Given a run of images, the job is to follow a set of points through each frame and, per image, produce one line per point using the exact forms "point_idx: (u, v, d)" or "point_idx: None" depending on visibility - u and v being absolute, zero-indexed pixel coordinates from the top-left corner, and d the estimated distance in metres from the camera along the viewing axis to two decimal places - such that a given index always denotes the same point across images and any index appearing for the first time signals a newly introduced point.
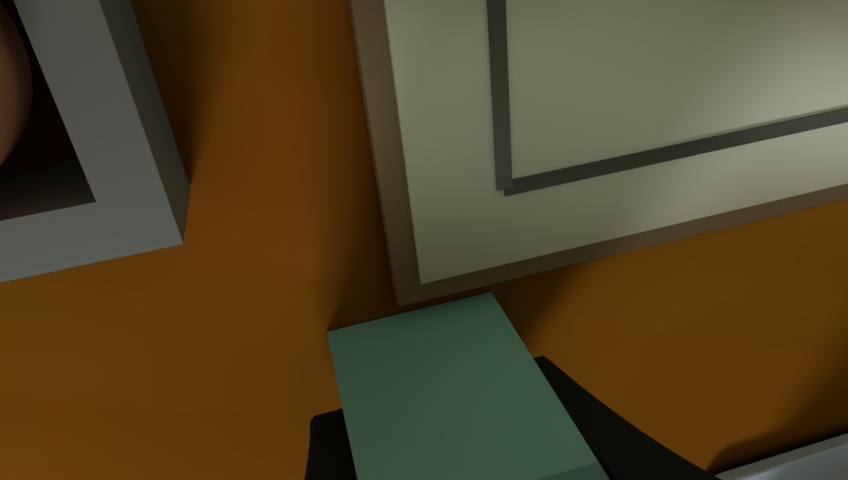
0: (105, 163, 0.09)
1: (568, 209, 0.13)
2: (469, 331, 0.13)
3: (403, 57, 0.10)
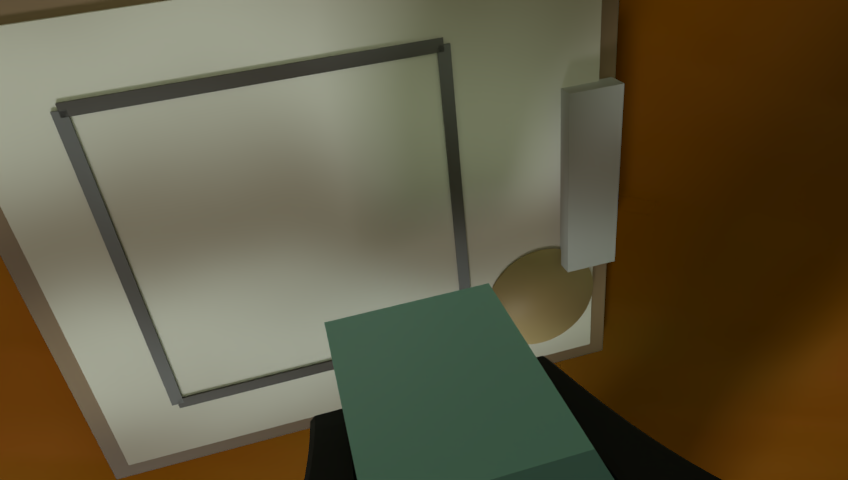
0: None
1: (236, 410, 0.17)
2: (467, 322, 0.13)
3: (76, 333, 0.15)
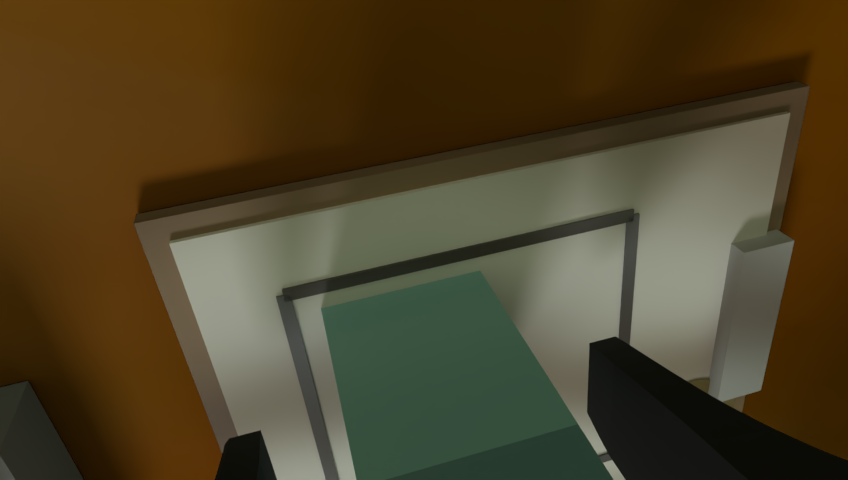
0: None
1: None
2: (458, 307, 0.13)
3: None
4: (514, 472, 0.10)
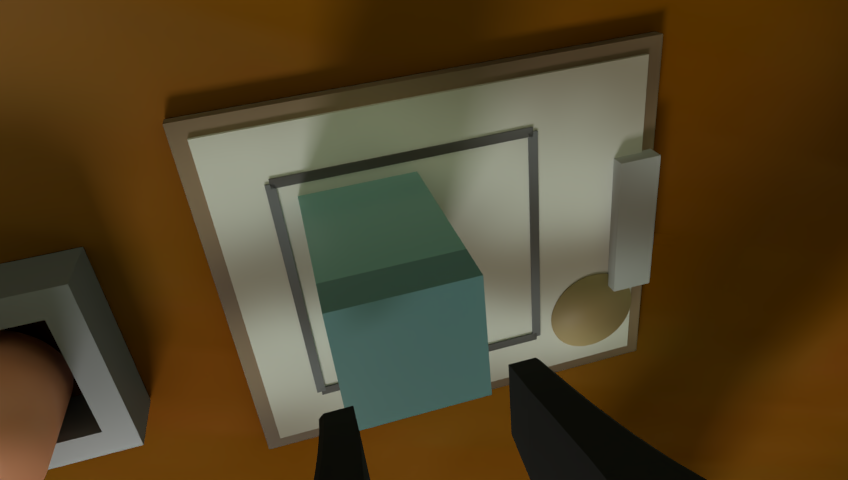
0: (106, 417, 0.19)
1: None
2: (397, 192, 0.18)
3: (257, 339, 0.21)
4: (419, 273, 0.14)
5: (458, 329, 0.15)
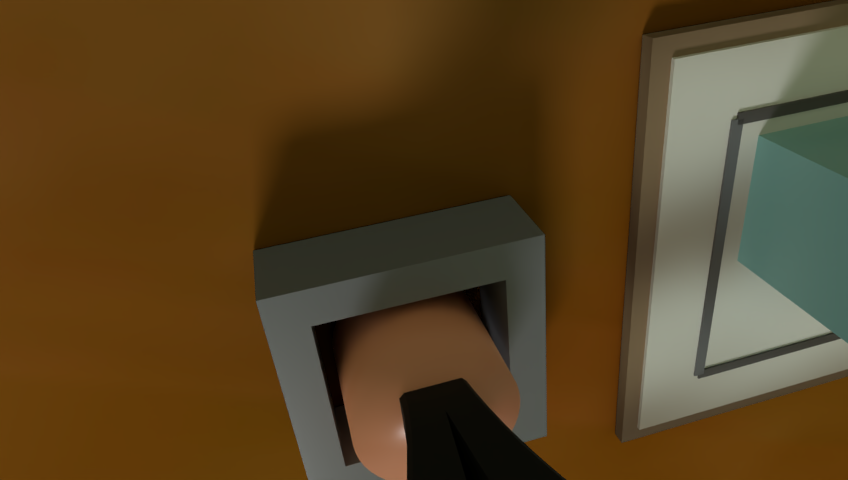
0: (523, 401, 0.16)
1: (733, 381, 0.20)
2: None
3: (654, 311, 0.18)
4: None
5: None
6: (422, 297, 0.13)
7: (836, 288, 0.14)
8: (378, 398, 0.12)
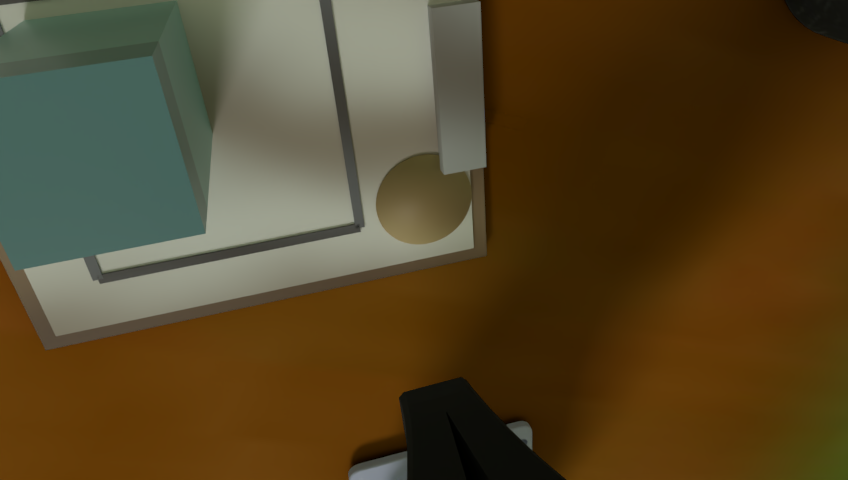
0: None
1: (151, 290, 0.20)
2: (135, 12, 0.15)
3: None
4: (81, 58, 0.12)
5: (135, 134, 0.12)
6: None
7: None
8: None
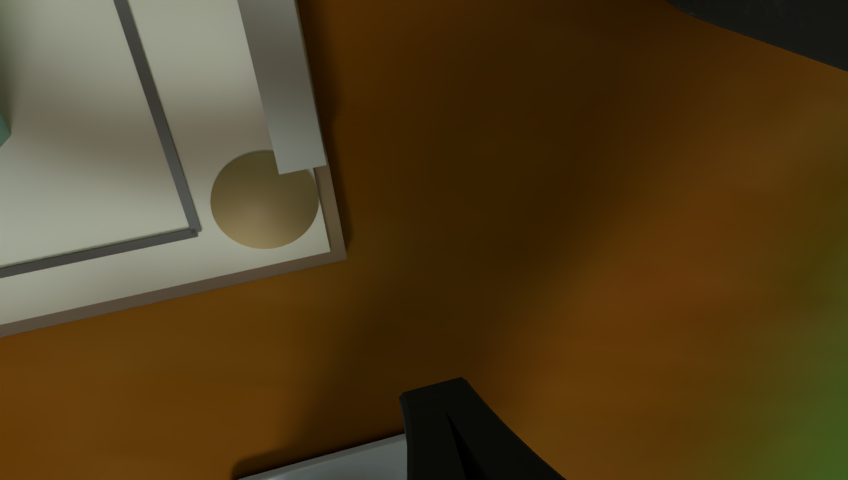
0: None
1: None
2: None
3: None
4: None
5: None
6: None
7: None
8: None
